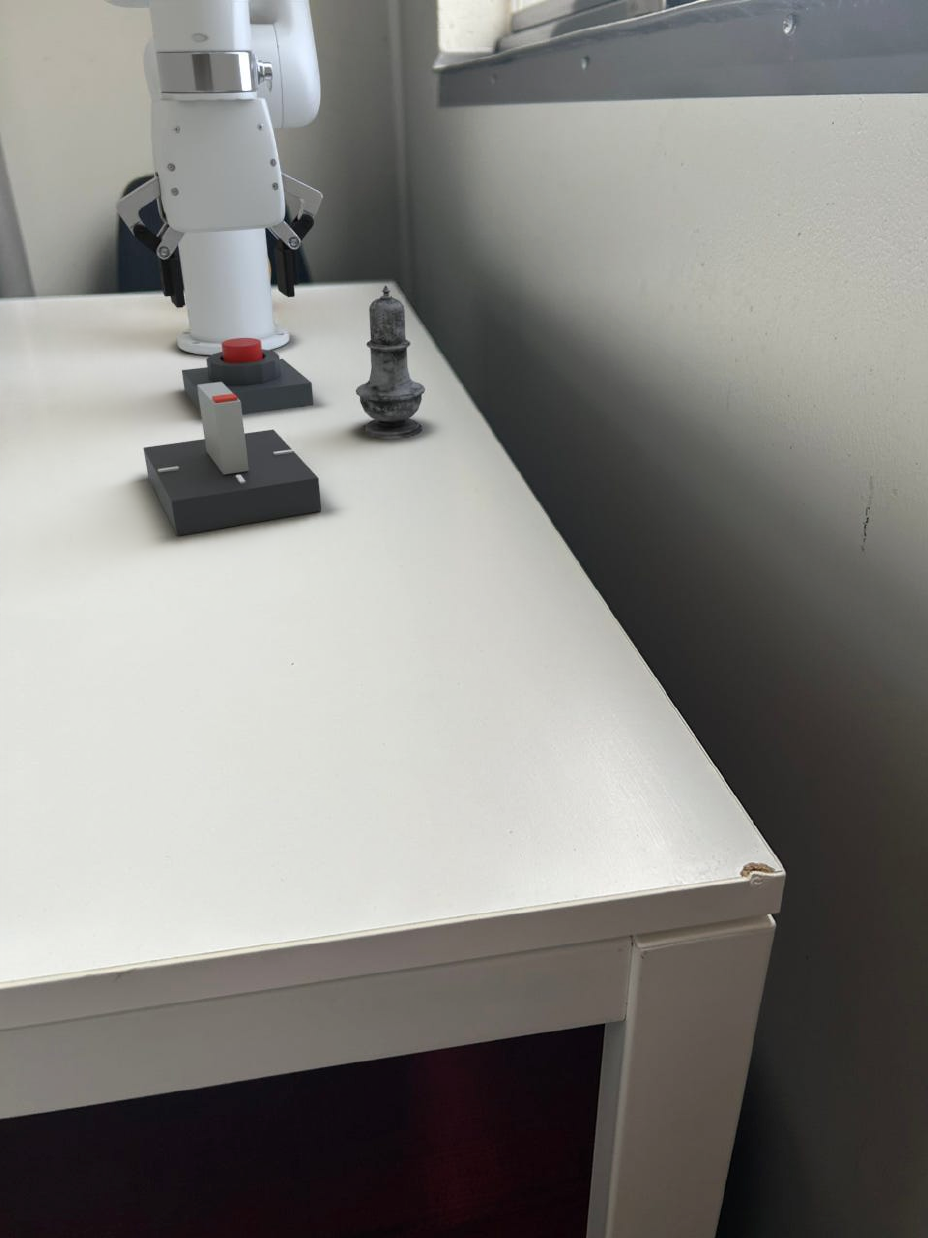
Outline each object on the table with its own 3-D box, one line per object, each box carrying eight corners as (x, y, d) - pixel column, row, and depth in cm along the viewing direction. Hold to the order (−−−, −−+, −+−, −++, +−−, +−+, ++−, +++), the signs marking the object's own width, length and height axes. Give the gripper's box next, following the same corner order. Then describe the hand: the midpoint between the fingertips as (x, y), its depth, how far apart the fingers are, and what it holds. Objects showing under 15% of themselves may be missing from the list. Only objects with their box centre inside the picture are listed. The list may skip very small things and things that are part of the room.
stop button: (220, 358, 93) (217, 339, 92) (257, 354, 94) (255, 335, 93) (228, 367, 90) (226, 348, 89) (267, 362, 91) (265, 343, 91)
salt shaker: (417, 442, 82) (412, 293, 76) (349, 438, 83) (339, 291, 77) (433, 421, 87) (429, 280, 81) (369, 418, 88) (361, 278, 82)
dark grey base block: (148, 478, 75) (142, 445, 74) (276, 459, 79) (273, 427, 77) (177, 536, 66) (170, 498, 64) (321, 511, 69) (318, 475, 68)
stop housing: (184, 392, 96) (178, 351, 94) (284, 380, 100) (281, 340, 98) (205, 420, 88) (199, 375, 86) (313, 405, 92) (310, 362, 90)
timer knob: (206, 451, 73) (196, 381, 70) (230, 448, 73) (221, 378, 71) (223, 475, 68) (213, 400, 66) (249, 471, 69) (240, 397, 67)
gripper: (299, 76, 85) (315, 283, 93) (89, 79, 79) (126, 300, 87) (325, 78, 79) (340, 298, 87) (100, 81, 73) (139, 317, 81)
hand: (233, 299), depth 87 cm, fingers open, 9 cm apart
